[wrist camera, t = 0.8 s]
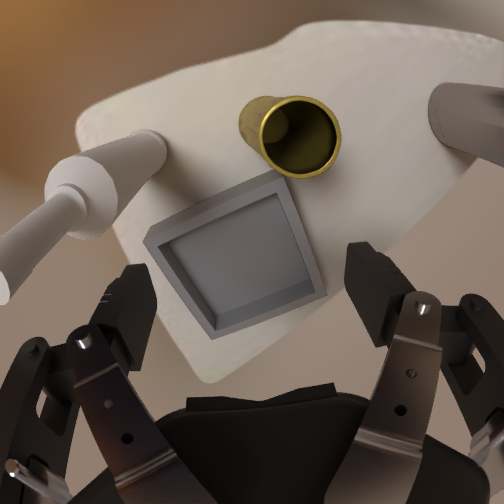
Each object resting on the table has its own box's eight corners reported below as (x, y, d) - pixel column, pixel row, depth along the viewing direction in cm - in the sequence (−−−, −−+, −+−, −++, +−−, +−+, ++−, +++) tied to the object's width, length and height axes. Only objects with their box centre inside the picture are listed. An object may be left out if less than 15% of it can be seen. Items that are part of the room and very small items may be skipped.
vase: (286, 157, 31) (331, 196, 18) (231, 143, 29) (238, 172, 17) (302, 105, 28) (360, 109, 15) (246, 89, 27) (266, 75, 14)
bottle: (135, 181, 30) (2, 345, 8) (117, 141, 28) (-63, 247, 6) (176, 162, 30) (71, 321, 8) (157, 120, 27) (-13, 184, 5)
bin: (276, 168, 31) (283, 176, 28) (318, 277, 39) (327, 295, 35) (150, 226, 33) (142, 241, 29) (211, 320, 40) (211, 340, 37)
